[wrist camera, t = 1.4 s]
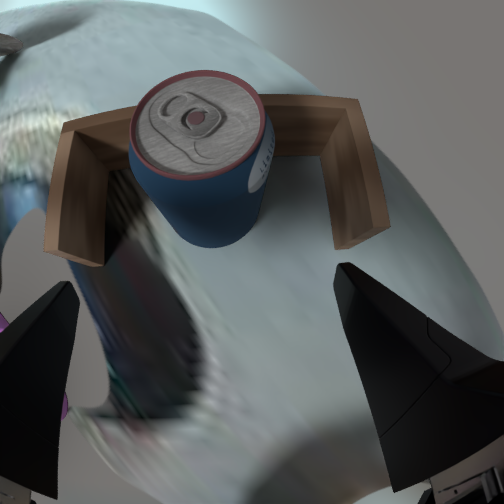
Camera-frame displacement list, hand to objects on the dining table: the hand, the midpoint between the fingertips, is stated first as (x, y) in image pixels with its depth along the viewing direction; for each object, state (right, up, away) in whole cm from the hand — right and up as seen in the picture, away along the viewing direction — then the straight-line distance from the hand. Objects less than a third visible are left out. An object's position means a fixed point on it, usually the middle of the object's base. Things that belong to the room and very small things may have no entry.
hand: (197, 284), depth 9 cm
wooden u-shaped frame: (-1, +4, +14) cm, 14 cm away
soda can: (-1, +4, +14) cm, 15 cm away
